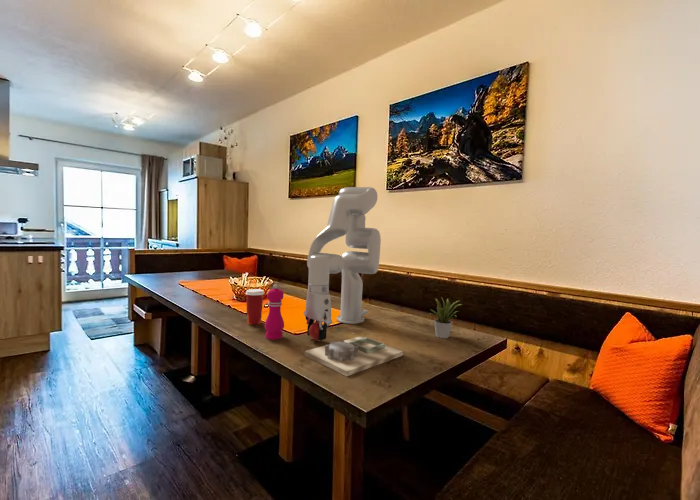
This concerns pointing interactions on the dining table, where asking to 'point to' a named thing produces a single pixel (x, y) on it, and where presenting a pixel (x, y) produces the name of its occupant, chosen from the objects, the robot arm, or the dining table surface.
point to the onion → (314, 330)
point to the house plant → (443, 318)
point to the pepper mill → (274, 314)
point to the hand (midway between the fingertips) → (316, 336)
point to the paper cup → (254, 305)
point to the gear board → (353, 354)
